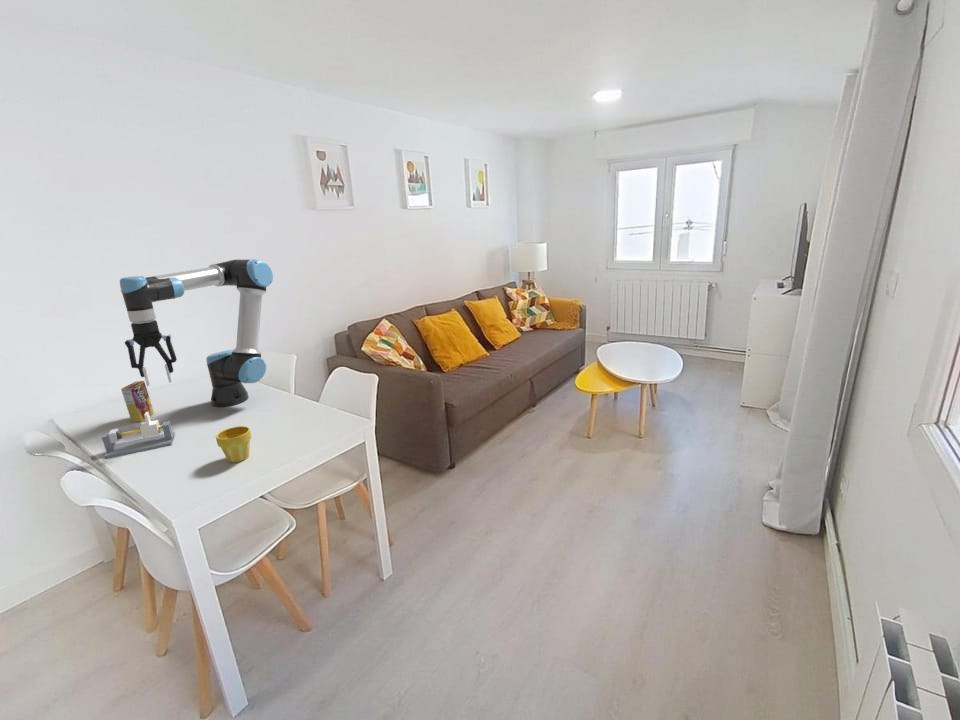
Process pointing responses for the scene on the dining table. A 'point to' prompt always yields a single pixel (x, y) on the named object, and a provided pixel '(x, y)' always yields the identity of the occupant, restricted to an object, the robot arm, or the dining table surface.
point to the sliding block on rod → (136, 441)
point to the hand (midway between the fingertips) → (159, 382)
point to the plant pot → (235, 443)
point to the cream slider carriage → (149, 427)
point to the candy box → (137, 401)
